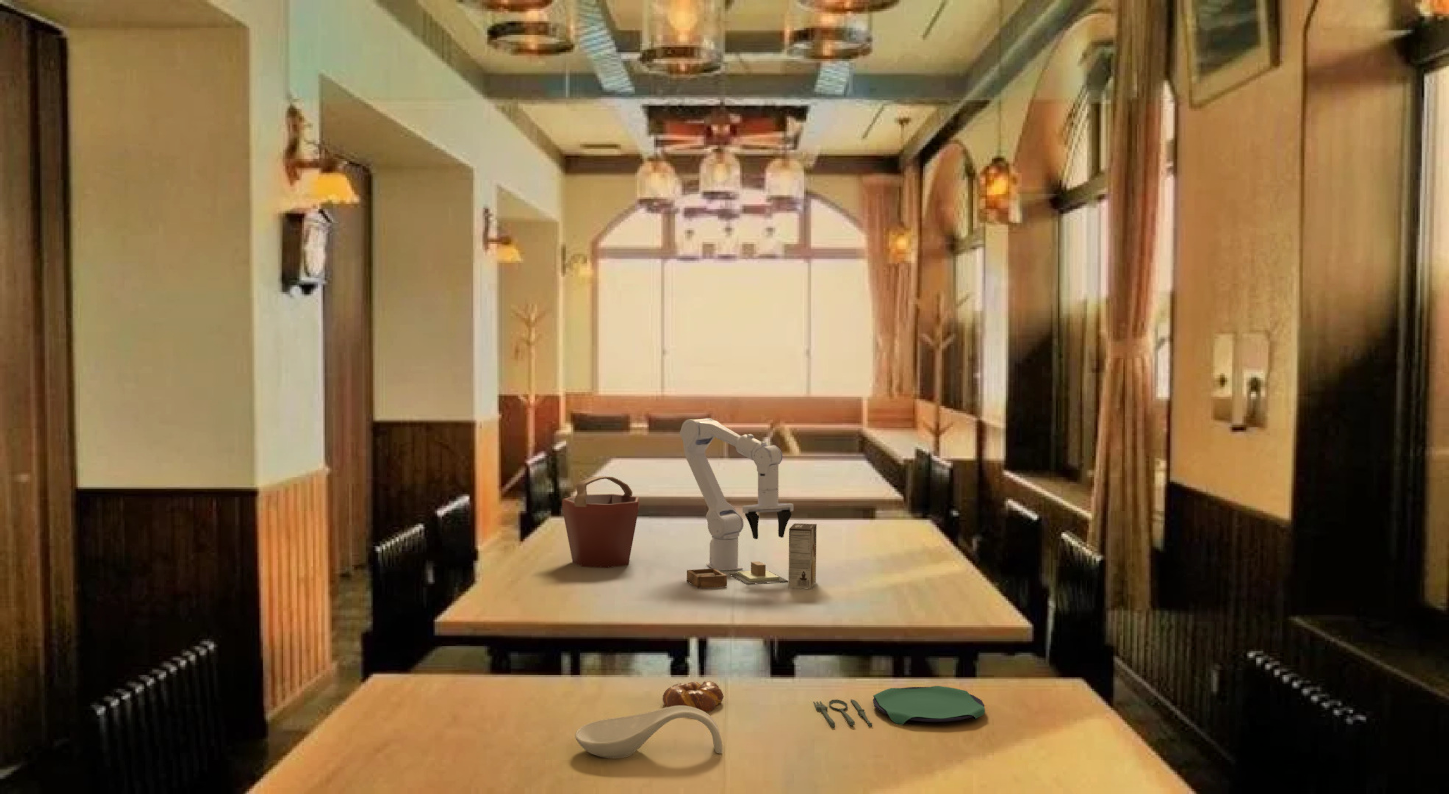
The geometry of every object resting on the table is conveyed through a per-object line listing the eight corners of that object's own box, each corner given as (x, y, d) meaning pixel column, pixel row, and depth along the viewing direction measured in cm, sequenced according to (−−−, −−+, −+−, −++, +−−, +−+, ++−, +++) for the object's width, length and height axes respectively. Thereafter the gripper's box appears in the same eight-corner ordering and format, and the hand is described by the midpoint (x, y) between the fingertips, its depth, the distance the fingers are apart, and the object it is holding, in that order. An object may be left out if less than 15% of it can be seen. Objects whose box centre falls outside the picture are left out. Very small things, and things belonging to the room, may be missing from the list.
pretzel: (692, 691, 231) (692, 672, 230) (737, 703, 224) (737, 683, 224) (649, 706, 221) (649, 686, 221) (695, 719, 215) (695, 698, 214)
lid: (737, 574, 340) (737, 560, 339) (765, 572, 342) (765, 559, 342) (750, 581, 330) (750, 567, 330) (779, 579, 333) (779, 566, 332)
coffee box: (792, 581, 332) (793, 522, 331) (816, 582, 331) (817, 523, 330) (787, 588, 323) (788, 528, 322) (811, 589, 322) (812, 529, 321)
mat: (729, 574, 340) (729, 573, 340) (769, 572, 344) (769, 571, 344) (746, 584, 327) (746, 583, 327) (788, 582, 331) (788, 581, 331)
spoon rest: (574, 767, 190) (574, 721, 190) (575, 742, 202) (575, 699, 202) (725, 763, 193) (725, 718, 192) (718, 738, 204) (718, 696, 204)
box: (686, 581, 331) (686, 570, 331) (714, 579, 334) (714, 568, 334) (698, 588, 322) (698, 577, 322) (726, 586, 324) (726, 575, 324)
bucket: (587, 573, 341) (587, 483, 339) (544, 561, 357) (544, 476, 356) (656, 562, 357) (657, 477, 355) (612, 552, 373) (612, 470, 372)
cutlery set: (1000, 727, 211) (1000, 714, 211) (829, 735, 208) (829, 722, 208) (964, 694, 231) (964, 682, 231) (808, 701, 228) (808, 689, 227)
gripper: (748, 491, 333) (748, 541, 334) (797, 489, 338) (797, 538, 339) (739, 489, 340) (740, 537, 341) (788, 486, 345) (788, 534, 345)
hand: (768, 537), depth 340 cm, fingers open, 7 cm apart
